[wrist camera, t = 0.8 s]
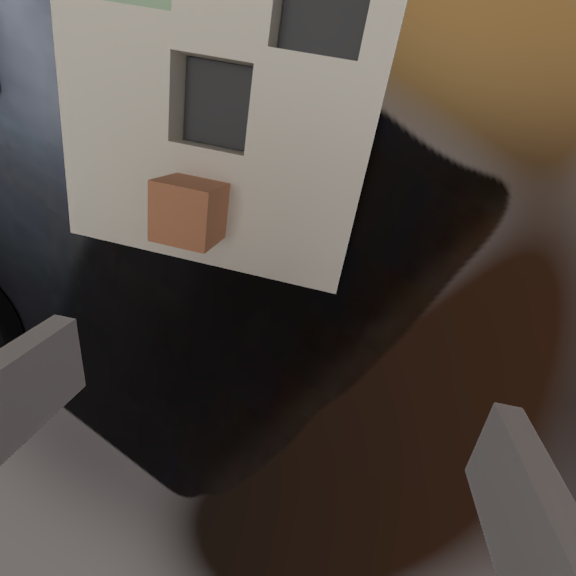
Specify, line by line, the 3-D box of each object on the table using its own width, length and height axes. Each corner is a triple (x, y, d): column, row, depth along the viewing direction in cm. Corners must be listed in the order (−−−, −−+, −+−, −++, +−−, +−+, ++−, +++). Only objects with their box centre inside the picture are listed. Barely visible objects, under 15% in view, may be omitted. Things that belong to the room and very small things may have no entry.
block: (175, 226, 29) (147, 240, 25) (177, 172, 27) (147, 179, 23) (225, 237, 28) (204, 253, 24) (230, 183, 26) (208, 192, 23)
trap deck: (90, 225, 33) (56, 237, 29) (69, -114, 23) (15, -157, 20) (338, 281, 30) (334, 302, 27) (423, -69, 21) (435, -109, 18)
